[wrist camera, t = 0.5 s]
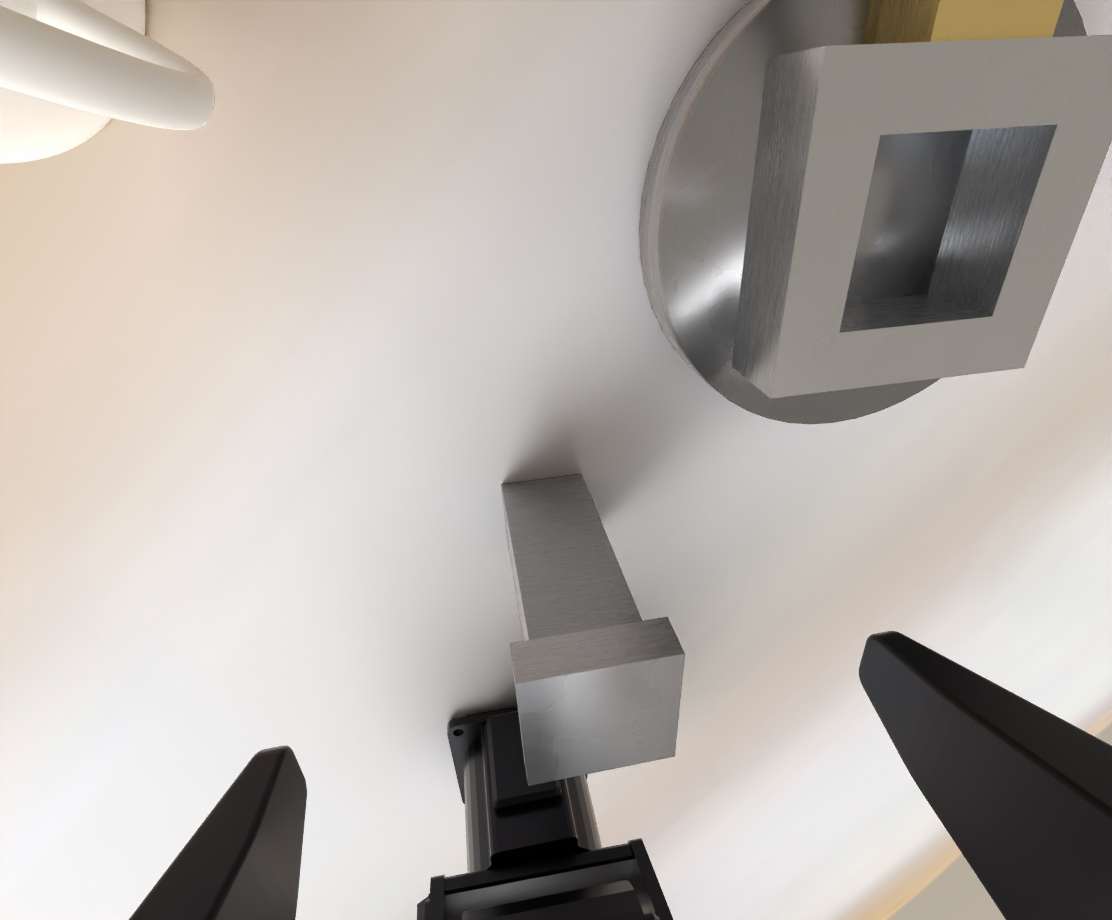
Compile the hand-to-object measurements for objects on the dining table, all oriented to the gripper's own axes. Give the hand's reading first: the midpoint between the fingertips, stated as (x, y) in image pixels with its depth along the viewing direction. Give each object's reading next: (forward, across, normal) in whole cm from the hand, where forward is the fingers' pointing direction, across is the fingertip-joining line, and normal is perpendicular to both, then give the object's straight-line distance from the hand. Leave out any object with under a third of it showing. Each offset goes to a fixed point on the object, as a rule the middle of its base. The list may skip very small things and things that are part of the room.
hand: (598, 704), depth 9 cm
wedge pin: (+13, -1, +5) cm, 14 cm away
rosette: (+12, -11, -7) cm, 18 cm away
